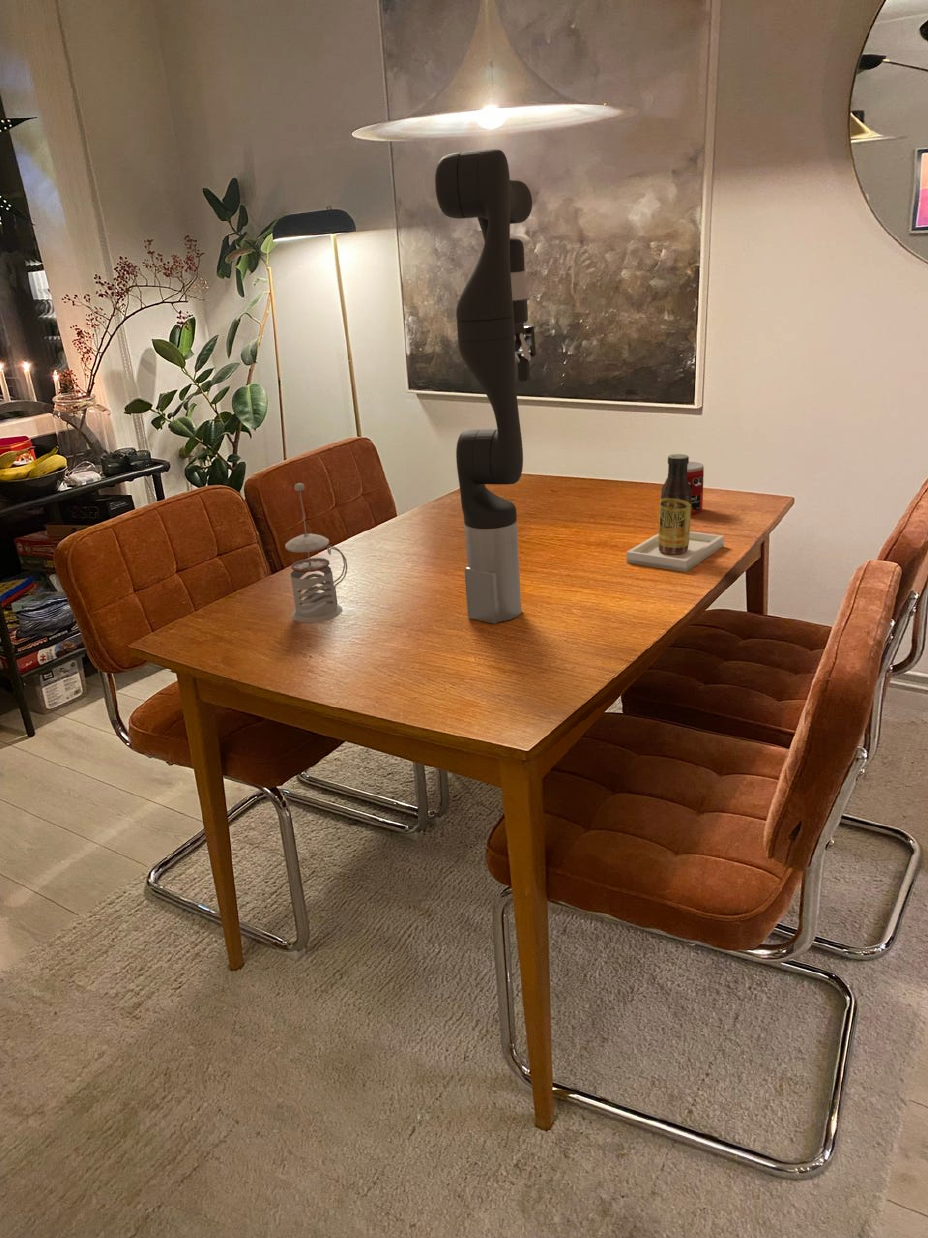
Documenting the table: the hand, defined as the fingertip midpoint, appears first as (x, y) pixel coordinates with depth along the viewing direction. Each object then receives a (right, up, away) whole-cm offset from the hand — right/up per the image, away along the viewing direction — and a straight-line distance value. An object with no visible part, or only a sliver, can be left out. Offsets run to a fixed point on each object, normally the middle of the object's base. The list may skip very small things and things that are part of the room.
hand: (511, 384), depth 184 cm
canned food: (+43, -21, +37) cm, 61 cm away
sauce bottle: (+34, -33, +8) cm, 48 cm away
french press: (-36, -45, -8) cm, 59 cm away
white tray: (+34, -33, +9) cm, 48 cm away
